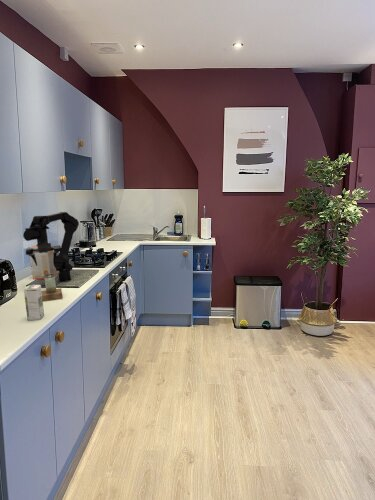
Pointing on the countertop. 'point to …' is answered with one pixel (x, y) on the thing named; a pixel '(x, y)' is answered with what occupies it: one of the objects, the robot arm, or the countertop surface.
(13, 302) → the countertop surface
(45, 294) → the walnut block
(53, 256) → the robot arm
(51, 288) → the spice tin
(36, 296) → the syrup box
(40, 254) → the cracker box
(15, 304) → the countertop surface
